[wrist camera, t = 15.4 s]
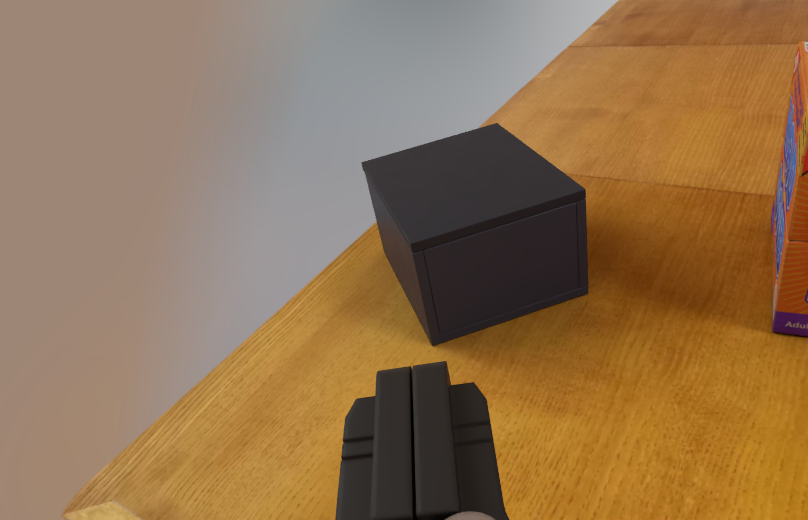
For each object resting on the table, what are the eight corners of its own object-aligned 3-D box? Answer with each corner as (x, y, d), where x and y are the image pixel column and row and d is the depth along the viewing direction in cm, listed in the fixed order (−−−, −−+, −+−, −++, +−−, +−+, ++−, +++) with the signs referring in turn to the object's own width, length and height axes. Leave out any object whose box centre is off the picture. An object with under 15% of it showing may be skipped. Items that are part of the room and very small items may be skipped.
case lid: (363, 170, 57) (361, 162, 56) (497, 130, 59) (496, 122, 58) (412, 253, 43) (410, 243, 43) (586, 198, 45) (585, 188, 45)
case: (384, 252, 61) (364, 173, 56) (509, 213, 63) (501, 133, 58) (432, 346, 48) (412, 253, 43) (588, 293, 50) (586, 199, 45)
